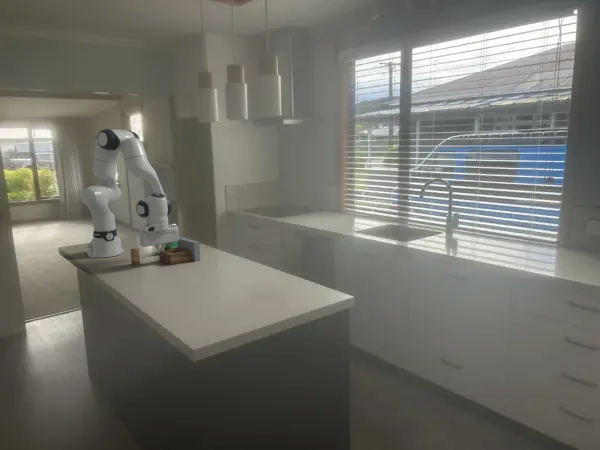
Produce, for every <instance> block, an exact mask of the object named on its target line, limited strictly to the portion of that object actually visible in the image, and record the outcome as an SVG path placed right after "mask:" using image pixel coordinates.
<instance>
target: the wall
mask: <svg viewBox="0 0 600 450" xmlns="http://www.w3.org/2000/svg"><path fill="white" fill-rule="evenodd" d="M179 237H180V236H179ZM177 248H183V249H187V250H190V251H192V260H191V262H199V261H201V252H200V241H198V240H194V239H189V238H186V237H183V236H181V237H180V239H179V241H177Z"/></svg>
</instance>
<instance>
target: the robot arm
mask: <svg viewBox="0 0 600 450" xmlns="http://www.w3.org/2000/svg"><path fill="white" fill-rule="evenodd" d="M96 138H97V145H96V146H95V147H96V148H95V152H94V158H93V159H94V160H93V168H92V173H93V175H94V176H95V177H96V180H97V184H96V185H91V186H90V185H89V186H88V187H86V188H84V189H82V190H81V192H80V200H81V202H82V204H83V205H85V206H86V207H87V208H88V210H89V212H90V214H91V217H92V223H93V232H92V239H91V241H89V244H87V248H88V249H89V250H86V251H85V253H86V255H87V257H89V258H90V259H91V258H94V259H95V258H110V257H115V256H119V255H122V253H125V249H123V248H122V243H121V242H122V241H121V237H119V236H118V229H117V227H116V219H115V217H116V216H115V214H114V213H113V212H112V211H111V210H110V209H109V205H110V204H113V203H115V202H116V201H118V200H119V199H120V198H121V197H122V191H121V188H120V187H119V185H118V183H117V179H116V177H117V176H116V174H117V173H116V171H117V161H118V155H119V153H120V152H121V153H122V156H123V161H124V165H125V168H126V170H127V172H128V173H129V174H130V175H132V176H134V177H135V178H136V177H137V178H140V179H142V180H145V181H147V182H148V183H149V184H150V186H151V189H152V191H153V193H151V194H149V195H148V196H147V197H146V198H142V199H140V200H138V202H137V203H136V205H135V210H136V214H137V215H138V216H139V217H140V218H143V219H148V218H149V222H148V223H145V224H143V225H141V226H140V231H141V232H140V233H139V245H140V247H144V248H145V247H152V246H153V247H155V248H156V250H157V251H156V252H157V253H158V254H159V253H162V252H164V248H165V247H166V243H171V242H177V241H179V239H180V232H179V228H180V227H179V225H178V224H176V223H173V224H171V223H170V224H169V218H168V215H170V213H171V212H172V209H173V204H172V201H171V200H170V198H169V197H168V195H167V193H166V190H165V188H164V185H163V183H162V180H161V178H160V175H159V173H158V172H157V170H156V169H155V168H154V167H152V165H151V163H150V162H149V160H148V157H147V156H148V155H147V153H146V150H145V147H144V145H143V143H142V141H141V139H140V137H139V135H138V134H137V132H134V131H132V130H126V129H119V128H118V129H116V128H115V129H114V128H113V129H111V128H110V129H109V128H105V129H102V130H100V131H99V132H98V134H97V137H96ZM160 245H161V248H159V247H160Z"/></svg>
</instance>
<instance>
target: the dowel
mask: <svg viewBox="0 0 600 450" xmlns="http://www.w3.org/2000/svg"><path fill="white" fill-rule="evenodd" d="M140 257H141V256H140V249H139V248H138V247H135V248H130V261H131V266H133V267H134V266H135V267H136V266H139V265H141V260H140V259H141V258H140Z"/></svg>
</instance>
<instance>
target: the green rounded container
mask: <svg viewBox="0 0 600 450" xmlns="http://www.w3.org/2000/svg"><path fill="white" fill-rule="evenodd" d="M174 248H177V242H171V243H166V247H165V248H164V250H169V249H174Z"/></svg>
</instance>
